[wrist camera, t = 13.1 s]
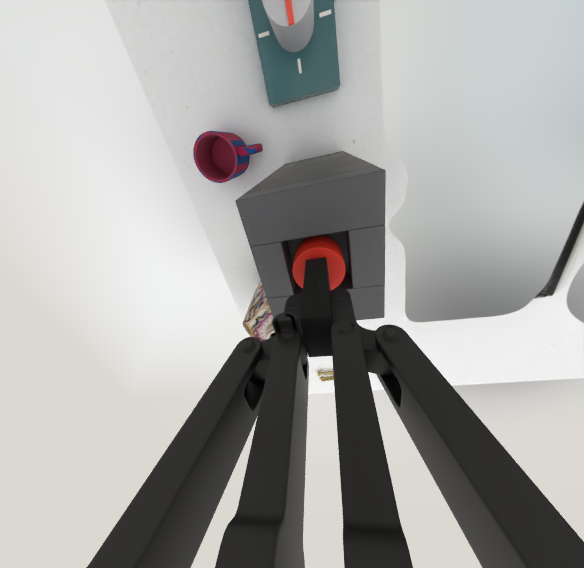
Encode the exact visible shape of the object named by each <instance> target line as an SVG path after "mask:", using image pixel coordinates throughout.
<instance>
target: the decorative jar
mask: <svg viewBox="0 0 584 568" xmlns="http://www.w3.org/2000/svg"><path fill="white" fill-rule="evenodd" d="M272 320H273V316H272V313H271V310H270V307H269V304H268V300H267V298H266V294H265V291H264V288H263V285H262V282H260V284H259V285H258V287H257V289H256V291H255V293H254V296H253V298H252V301H251V304H250V306H249V308H248V311H247V314H246V316H245V319H244V321H243V326H244V327H245V329H246V331H247V332H248V333H249V335H250V336H251V337H257V338H259V339H260V341H263V340H266V339H269V338H271V337H273V336H275V331H274V328H273V325H272Z"/></svg>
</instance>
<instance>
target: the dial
mask: <svg viewBox="0 0 584 568" xmlns="http://www.w3.org/2000/svg"><path fill="white" fill-rule="evenodd" d="M262 2H263V6H264V8H265V11H266V13H267V16H268V18H269V21H270V23H271V26H272V28H273V31H274V33H275V36H276V38H277V40H278V42H279V44H280V45H281V47H282V48H284V49H285V50H286V51H289V52H298V51H300V50H302V49H303V48H304V47H305V46H306V45H307V44H308V42H309V41H310V39H311V36H312V33H313V29H314V3H313V0H262Z"/></svg>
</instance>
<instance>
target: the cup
mask: <svg viewBox="0 0 584 568" xmlns="http://www.w3.org/2000/svg"><path fill="white" fill-rule="evenodd" d="M261 151H263V147H262V144H254V145H250V146H246V145H245V143H244V142H243V140H242V139H241V138H240V137H238V136H237V135H235V134H233V133H227V132H215V131H209V132H205V133H203V134H202V135H200V136H199V137H198V138H197V140H196V142H195V145H194V160H195V163H196V165H197V168H198V169H199V171H200V172H201V173H202V174H203V175H204V176H205V177H206V178H207V179H209V180H211V181H213V182H217V183H222V182H226V181H229V180H231V179H233V178H235V177H237V176H240V175H241V174H243V173H244V172H245V170H246V169H247V167H248V164H249V155H251V154H254V153H258V152H261Z"/></svg>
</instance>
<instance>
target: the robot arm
mask: <svg viewBox="0 0 584 568" xmlns="http://www.w3.org/2000/svg"><path fill="white" fill-rule="evenodd" d="M272 325H273V328H274V331H275V336H273V337H271V338H269V339H266V340H263V341H260V339H259V338H257V337H248V338H245V339H243V340H242V341H240V342H239V344H238V345H237V346H236V348H235V349H234V351H233V352H232V354H231V355H230V356H229V358H228V359H227V361H226V362H225V364H224V365H223V367H222V368H221V370H220V371H219V373H218V374H217V376H216V377H215V379H214V380H213V382H212V383H211V385H210V386H209V388H208V389H207V391H206V392H205V394H204V395H203V397H202V398H201V400H200V401H199V402H198V404H197V406H196V407H195V408H194V410H193V411H192V413H191V415H190V416H189V417H188V419H187V420H186V422H185V423H184V425H183V426H182V428H181V429H180V431H179V432H178V434H177V435H176V437H175V438H174V440H173V441H172V442H171V444H170V445H169V447H168V448H167V450H166V451H165V453H164V454H163V456H162V457H161V459H160V460H159V462H158V463H157V465H156V466H155V468H154V469H153V471H152V472H151V474H150V475H149V477H148V478H147V480H146V481H145V483H144V484H143V485H142V487H141V488H140V490H139V492H138V493H137V494H136V496H135V497H134V499H133V500H132V502H131V503H130V505H129V506H128V508H127V509H126V511H125V512H124V514H123V515H122V517H121V518H120V520H119V521H118V523H117V524H116V525H115V527H114V528H113V530H112V531H111V533H110V534H109V536H108V537H107V539H106V540H105V542H104V543H103V545H102V546H101V548H100V549H99V551H98V552H97V554H96V555H95V557H94V558H93V560H92V561H91V562H90V564H89V565H88V567H87V568H190V567H191V565H192V563H193V561H194V558H195V556H196V554H197V551H198V549H199V547H200V545H201V542H202V540H203V538H204V536H205V533H206V531H207V529H208V527H209V524H210V522H211V520H212V518H213V515H214V513H215V511H216V508H217V506H218V504H219V502H220V499H221V497H222V495H223V493H224V490H225V488H226V486H227V483H228V481H229V479H230V477H231V475H232V472H233V470H234V468H235V465H236V463H237V461H238V459H239V456H240V454H241V452H242V450H243V447H244V445H245V443H246V441H247V438H248V436H249V434H250V431H251V429H252V427H253V425H254V422H255V420H256V418H257V422H256V427H255V431H254V436H253V440H252V445H251V450H250V454H249V459H248V464H247V469H246V473H245V477H244V482H243V487H242V492H241V496H240V501H239V505H238V509H237V512H236V514H235V517H234V518H233V519H232V520H231V522H230V523H229V524H228V526H227V528H226V530H225V532H224V535H223V539H222V542H221V545H220V550H219V554H218V558H217V562H216V566H215V568H305V565H304V552H303V517H304V488H305V461H306V459H305V458H306V433H307V405H308V377H309V364H308V359H307V356H308V355H309V357H318V356H333V370H334V385H335V401H336V414H337V431H338V445H339V461H340V476H341V492H342V506H343V545H344V564H345V568H413V566H412V562H411V558H410V553H409V549H408V546H407V542H406V539H405V536H404V533H403V530H402V527H401V523H400V519H399V515H398V510H397V505H396V501H395V496H394V491H393V487H392V482H391V477H390V473H389V468H388V464H387V459H386V454H385V450H384V445H383V440H382V436H381V431H380V426H379V422H378V417H377V412H376V407H375V403H374V398H373V393H372V389H371V384H370V379H369V375H368V372H371V373H375V374H377V376H378V378H379V380H380V382H381V384H382V386H383V387H384V389H385V391H386V393H387V394H388V396H389V398H390V400H391V402H392V404H393V406H394V407H395V409H396V411H397V413H398V415H399V416H400V418H401V420H402V422H403V424H404V426H405V427H406V429H407V431H408V433H409V435H410V436H411V438H412V440H413V442H414V444H415V446H416V447H417V449H418V451H419V453H420V455H421V456H422V458H423V460H424V462H425V464H426V466H427V467H428V469H429V471H430V473H431V475H432V476H433V478H434V480H435V482H436V484H437V486H438V487H439V489H440V491H441V493H442V495H443V496H444V498H445V500H446V502H447V504H448V506H449V507H450V509H451V511H452V513H453V515H454V516H455V518H456V520H457V522H458V524H459V525H460V527H461V529H462V531H463V533H464V535H465V537H466V538H467V540H468V542H469V544H470V546H471V547H472V549H473V551H474V553H475V555H476V556H477V558H478V560H479V562H480V564H481V565H482V567H483V568H584V542H583V541H582V539H580V537H579V536H578V535H577V533H576V532H575V531H574V530H573V529H572V528H571V526H570V525H569V524H568V523H567V522H566V521H565V519H564V518H563V517H562V516H561V515H560V513H559V512H558V511H557V510H556V509H555V508H554V506H553V505H552V504H551V503H550V502H549V501H548V499H547V498H546V497H545V496H544V495H543V493H542V492H541V491H540V490H539V489H538V487H537V486H536V485H535V484H534V483H533V482H532V480H531V479H530V478H529V477H528V476H527V475H526V473H525V472H524V471H523V470H522V469H521V468H520V466H519V465H518V464H517V463H516V462H515V460H514V459H513V458H512V457H511V456H510V454H509V453H508V452H507V451H506V450H505V449H504V447H503V446H502V445H501V444H500V443H499V442H498V441H497V439H496V438H495V437H494V436H493V434H492V433H491V432H490V431H489V430H488V429H487V427H486V426H485V425H484V424H483V423H482V422H481V420H480V419H479V418H478V417H477V416H476V414H475V413H474V412H473V411H472V410H471V409H470V407H469V406H468V405H467V404H466V403H465V401H464V400H463V399H462V398H461V397H460V395H459V394H458V393H457V392H456V391H455V390H454V388H453V387H452V386H451V385H450V384H449V383H448V381H447V380H446V379H445V378H444V377H443V375H442V374H441V373H440V372H439V371H438V370H437V368H436V367H435V366H434V365H433V364H432V362H431V361H430V360H429V359H428V358H427V357H426V355H425V354H424V353H423V352H422V351H421V350H420V348H419V347H418V346H417V345H416V344H415V342H414V341H413V340H412V339H411V338H410V337H409V335H408V334H407V333H406V332H405V331H404V330H403V329H402V328H400V327H398V326H395V325H383V326H381V327H379V328H378V329H377V330H376V331H373V330H368V329H365V328H362V327H361V326H359V325H358V324H357V322H356V319H355V314H354V310H353V305H352V300H351V296H350V293H349V292H348V291H347V290H346V289H340V290H331V288H330V281H329V273H328V266H327V259H326V257H323V258H316V259H309V260H306V263H305V273H304V283H303V293H302V294H301V295H292V296H289V298H288V299H287V300H286V303H285V308H284V313H280V314H278V315H276V316H275V317H274V318H273V320H272ZM257 416H258V417H257Z"/></svg>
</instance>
